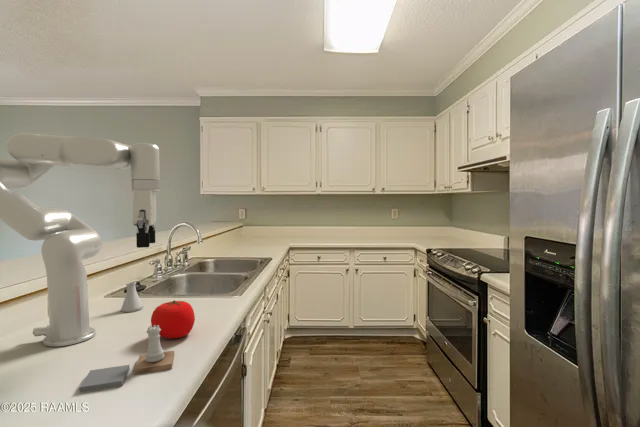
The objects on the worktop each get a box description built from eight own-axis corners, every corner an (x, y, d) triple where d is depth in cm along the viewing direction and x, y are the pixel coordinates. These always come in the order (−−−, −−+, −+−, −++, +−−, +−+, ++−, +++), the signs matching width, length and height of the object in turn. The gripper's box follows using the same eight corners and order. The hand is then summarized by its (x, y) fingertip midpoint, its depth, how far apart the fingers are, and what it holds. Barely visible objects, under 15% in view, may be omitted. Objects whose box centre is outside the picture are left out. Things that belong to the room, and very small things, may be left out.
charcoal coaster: (79, 393, 75) (78, 387, 75) (90, 375, 82) (90, 370, 82) (122, 386, 77) (122, 380, 77) (129, 369, 85) (129, 364, 85)
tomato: (203, 330, 109) (202, 297, 109) (178, 346, 98) (177, 308, 98) (171, 327, 113) (169, 294, 112) (142, 342, 101) (141, 305, 101)
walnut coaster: (134, 374, 82) (134, 369, 82) (140, 359, 90) (139, 355, 90) (171, 368, 85) (171, 363, 85) (174, 355, 92) (174, 350, 92)
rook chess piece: (168, 358, 88) (166, 326, 87) (149, 365, 84) (148, 331, 84) (159, 353, 90) (158, 322, 90) (141, 359, 87) (140, 327, 87)
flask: (134, 313, 128) (133, 285, 128) (116, 312, 129) (115, 285, 129) (147, 307, 135) (146, 280, 135) (130, 306, 137) (129, 280, 136)
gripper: (137, 187, 111) (138, 242, 112) (123, 185, 95) (124, 249, 95) (163, 187, 113) (164, 241, 114) (154, 185, 97) (155, 248, 97)
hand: (146, 245), depth 105 cm, fingers open, 9 cm apart
